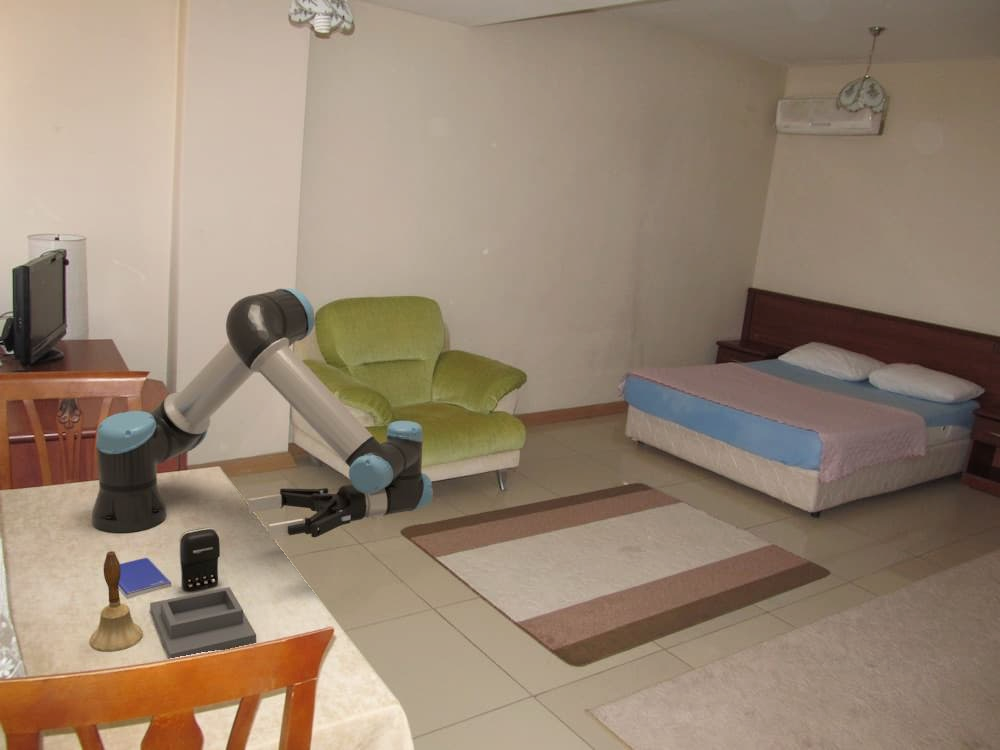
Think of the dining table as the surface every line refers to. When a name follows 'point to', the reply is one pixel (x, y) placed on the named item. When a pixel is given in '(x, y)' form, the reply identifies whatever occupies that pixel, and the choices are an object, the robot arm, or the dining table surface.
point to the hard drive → (141, 578)
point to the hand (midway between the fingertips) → (258, 518)
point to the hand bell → (115, 615)
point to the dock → (202, 623)
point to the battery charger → (199, 559)
